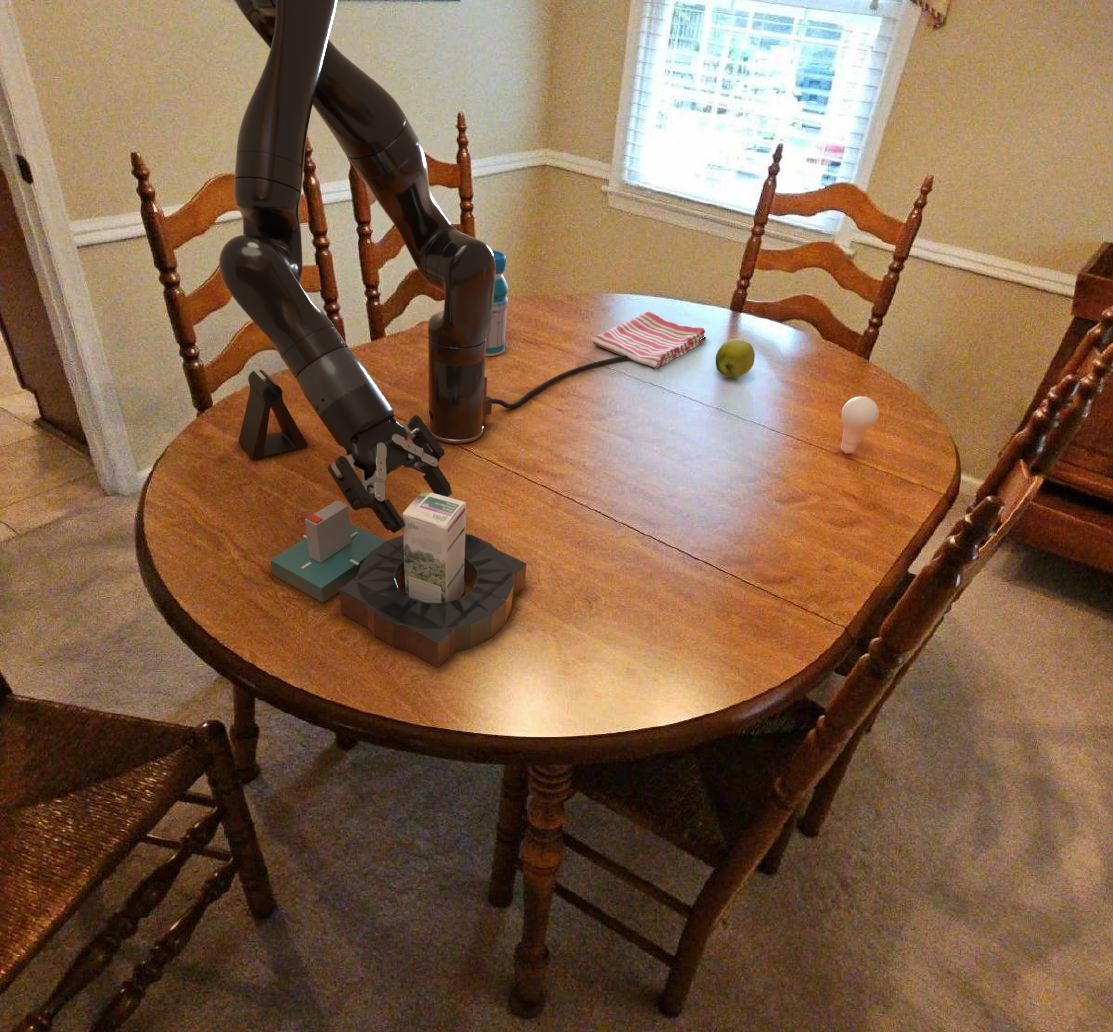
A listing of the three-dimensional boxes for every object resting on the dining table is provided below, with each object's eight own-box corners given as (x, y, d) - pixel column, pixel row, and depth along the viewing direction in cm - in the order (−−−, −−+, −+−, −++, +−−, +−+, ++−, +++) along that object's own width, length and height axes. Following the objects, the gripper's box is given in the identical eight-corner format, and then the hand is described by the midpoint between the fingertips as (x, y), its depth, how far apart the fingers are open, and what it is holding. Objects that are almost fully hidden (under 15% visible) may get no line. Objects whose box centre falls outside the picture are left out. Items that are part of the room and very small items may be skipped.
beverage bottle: (503, 359, 159) (509, 262, 148) (463, 355, 159) (465, 258, 148) (506, 343, 166) (511, 250, 155) (467, 340, 166) (469, 246, 155)
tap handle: (340, 537, 102) (337, 498, 98) (351, 542, 101) (348, 503, 98) (309, 557, 98) (304, 517, 94) (320, 563, 97) (316, 523, 94)
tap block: (338, 530, 107) (337, 514, 106) (391, 557, 103) (390, 541, 102) (270, 573, 99) (267, 557, 97) (325, 604, 95) (323, 588, 93)
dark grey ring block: (426, 536, 108) (426, 513, 106) (539, 591, 101) (542, 567, 98) (326, 609, 94) (323, 584, 92) (448, 678, 87) (449, 653, 84)
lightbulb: (865, 450, 141) (885, 396, 135) (861, 465, 136) (882, 409, 130) (831, 441, 143) (849, 387, 136) (826, 455, 138) (845, 400, 132)
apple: (755, 374, 165) (764, 339, 160) (740, 388, 158) (749, 352, 154) (721, 364, 168) (729, 329, 163) (705, 377, 161) (713, 341, 157)
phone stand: (252, 461, 120) (241, 391, 113) (238, 444, 123) (227, 375, 116) (307, 447, 124) (300, 379, 118) (293, 431, 128) (285, 364, 121)
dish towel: (705, 342, 178) (708, 327, 176) (655, 371, 161) (657, 355, 159) (642, 320, 185) (645, 306, 183) (588, 346, 169) (590, 331, 167)
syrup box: (465, 592, 99) (468, 499, 91) (445, 621, 94) (446, 525, 86) (425, 580, 100) (424, 487, 92) (403, 607, 96) (400, 512, 87)
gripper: (313, 404, 81) (400, 531, 83) (403, 362, 92) (478, 476, 94) (283, 432, 86) (366, 551, 89) (372, 389, 97) (444, 497, 99)
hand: (423, 513), depth 91 cm, fingers open, 8 cm apart
